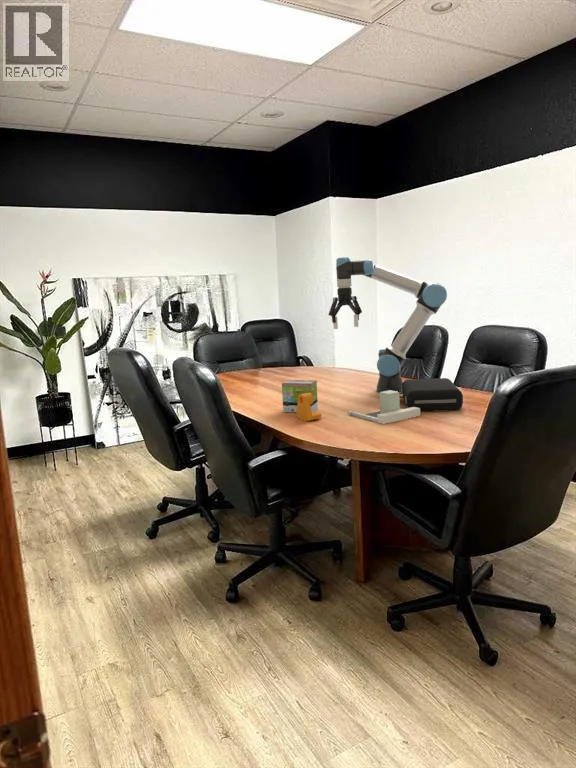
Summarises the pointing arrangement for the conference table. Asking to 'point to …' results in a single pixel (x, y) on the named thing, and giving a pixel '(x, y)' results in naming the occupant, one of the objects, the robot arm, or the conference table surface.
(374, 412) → the stop pad
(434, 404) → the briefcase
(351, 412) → the track rails
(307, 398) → the bracket
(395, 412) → the end stop
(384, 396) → the block
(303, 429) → the conference table surface
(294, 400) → the tea box
